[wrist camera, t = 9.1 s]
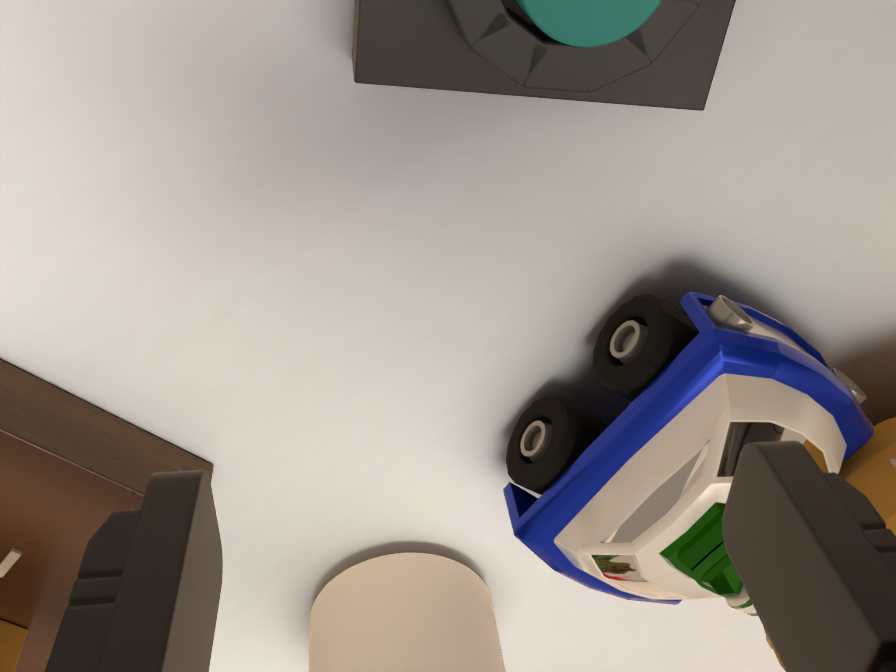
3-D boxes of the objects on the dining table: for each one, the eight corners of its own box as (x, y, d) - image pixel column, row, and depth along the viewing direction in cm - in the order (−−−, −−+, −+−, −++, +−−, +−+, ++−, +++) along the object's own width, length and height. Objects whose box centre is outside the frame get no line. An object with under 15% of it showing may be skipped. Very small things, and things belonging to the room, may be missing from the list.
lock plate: (-20, 348, 28) (-55, 408, 25) (214, 464, 32) (204, 526, 29) (-179, 574, 32) (-223, 643, 30) (42, 650, 36) (21, 717, 34)
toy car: (842, 349, 32) (1008, 533, 24) (637, 541, 37) (721, 746, 29) (674, 237, 28) (806, 412, 21) (471, 467, 33) (515, 679, 26)
